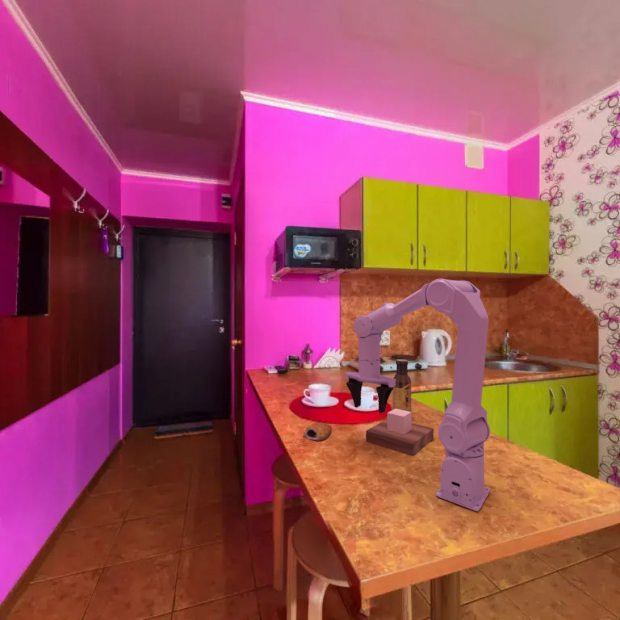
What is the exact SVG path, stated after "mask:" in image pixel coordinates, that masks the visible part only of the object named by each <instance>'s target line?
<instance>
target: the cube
mask: <svg viewBox="0 0 620 620" xmlns="http://www.w3.org/2000/svg"><path fill="white" fill-rule="evenodd" d="M386 414H387V416H386V417H387V430H389V431H392V432H396V433H400V434H403V435H404V434H406V433H407V432H409V431H410V430H412V422H413V421H412V420H413V419H412V415H413V414H412V411H411V412H409V411H404V410H400V409H394V410H393V409H391V410H390V411H388V412H387V413H386Z"/></svg>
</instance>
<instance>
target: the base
mask: <svg viewBox="0 0 620 620" xmlns="http://www.w3.org/2000/svg"><path fill="white" fill-rule="evenodd" d="M433 440H434V428H433V427H429V426H426V425H425V426H424V425H421V424H417V423H412V430H410V431H409V432H407V433H406V434H404V435H403V434H400V433H396V432H392V431H389V430H387V419H384V420H383V421H381V422H378V423H376V424H375V425H373V426H372V427H370V428H368V429H366V430H365V442H368V443H371V444H374V445H378V446H381V447H384V448H386V449H391V450H394V451H397V452H400V453H404V454H407V455H409V456H415V455H416V454H417V453H418V452H419V451H420V450H422V449H423V448H424V447H425V446H427V444H429V443H430V442H431V441H433Z"/></svg>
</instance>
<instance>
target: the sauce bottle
mask: <svg viewBox="0 0 620 620" xmlns="http://www.w3.org/2000/svg"><path fill="white" fill-rule="evenodd" d="M395 365H396V371H395V374H394V376H393V379H396V386H395V387H394V388H393V390H392V410H394V409H400V410H404V411H409V412H412V380H411V378H410V375H409V374H408V365H409V361H408V359H403V358H402V359H401V358H400V359H399V358H398V359H396V360H395Z"/></svg>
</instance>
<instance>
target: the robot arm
mask: <svg viewBox="0 0 620 620" xmlns="http://www.w3.org/2000/svg"><path fill="white" fill-rule="evenodd" d="M428 306H430V307H432V309H434V310H436V311H438V312H440V313H442V314H443V315H446V316H447V317H448V318H450V319H451V321H452V322H453V323H454V324H455V325H456V326H457V331H456V332H457V334H456V335H457V336H456V347H455V357H454V371H453V380H452V382H453V383H452V392H451V394H452V395H451V402H450V403H449V404H448V406H447V408H446V409H445V411H444V413H443V420H442V421H441V423H440V424H439V426H438V429H437V434H438V438H439V441H440V443H441V445H442V446H443V447H444V450H445V453H444V455H445V457H444V460H443V461H442V463H441V465H440V468H439V469H440V477H439V478H440V480H439V481H440V482H439V483H440V488H439V489H438V490H437V491H436V493H435V496H436V497H437V498H440V499H442V500H444V501H445V500H446V501H448V502H451V503H453V504H455V505H456V504H457V505H459V506H461V507H463V508H467V509H469V510H472V511H475V512H480V511H481V507H482V506H483V504H484V503H485V501H486V500H487V498H488V495H490V492H491V488H490V487H487V486H485V442H487V441H488V439H489V438H490V436H491V427H490V424H489V421H488V411H487V409H486V408H485V407H483V406H482V398H483V389H484V388H483V386H484V375H485V366H486V354H487V343H488V333H489V322H490V320H489V315H488V312H487V310H486V308H485V306H484V303H483V301H482V299H481V290H480V289H479V288H477V287H476V286H475V285H474V284H473V283H471V282H470V281H468V280H454V279H453V280H452V279H445V278H437V279H434V280H432V281H431V282H428V283H425V284H424V285H422V287H421V288H420V289H418V290H417V291H415V292H413V293H412V294H410V295H409V296H407V297H405V298H404V299H402V300H400V301H398V302H397V303H396V304H395V303H393V302H383V303H382V304H381V306H380V307H379V308H378V309H375V310H370V311H369V313H368V314H367V315H364V314H360V315H358V316H357V317H356V319H355V320H354V323H353V330H354V332H355V335H357V336H358V372H354V371H353V372H352V371H347V372H345V377H344V378H345V380H347V382H346V383H345V384H346V387H347V388H348V390H349V393H350V395H351V397H352V402H353V406H354V408H359V407H361V406H362V388H363V383H368V384H373V385H374V384H375V385H379V386H376V387H375V390H376V393H377V394H376V395H377V401H378V414H384V413H385V412H386V408H387V405H388V402H389V401H388V400H389V398H390V396H391V393H393V388H394V387H395V386H396V379H393V378H394V377H393V378H392V377H388V376H385V375H381V342H382V336H383V333H384V331H387V330H388V329H390V328H393V327H395V326H397V325H399V324H400V323H401V322H402V320H403V317H404V316H406V315H409V314H411V313H413V312H416V311H418V310H421V309H422V308H425V307H428Z"/></svg>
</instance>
